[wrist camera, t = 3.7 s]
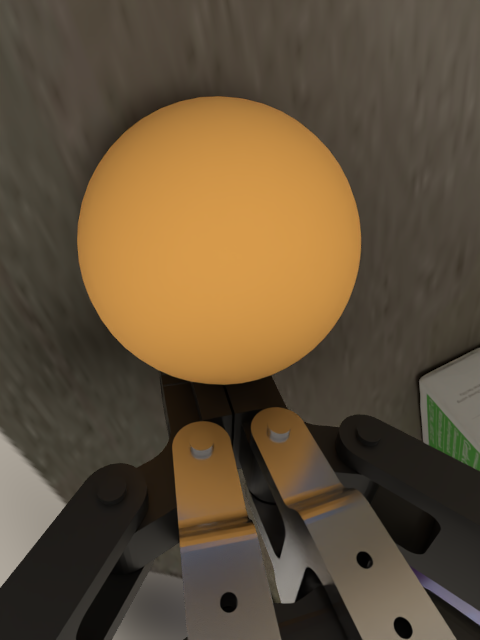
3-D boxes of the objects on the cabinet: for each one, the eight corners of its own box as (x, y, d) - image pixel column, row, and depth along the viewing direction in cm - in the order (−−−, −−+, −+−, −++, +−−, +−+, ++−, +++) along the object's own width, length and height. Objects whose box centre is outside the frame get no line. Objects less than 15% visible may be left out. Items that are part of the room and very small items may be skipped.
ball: (284, 105, 11) (433, 34, 6) (303, 305, 13) (425, 393, 8) (61, 136, 10) (-20, 84, 5) (122, 349, 12) (118, 486, 7)
